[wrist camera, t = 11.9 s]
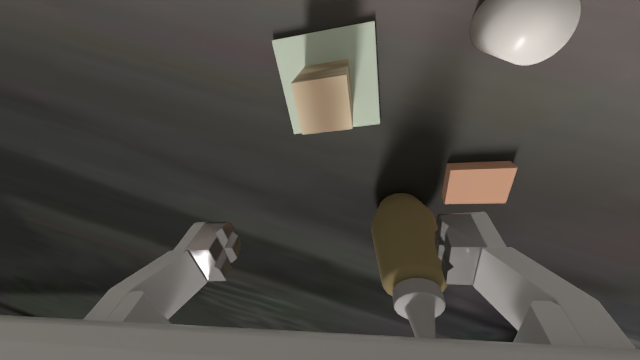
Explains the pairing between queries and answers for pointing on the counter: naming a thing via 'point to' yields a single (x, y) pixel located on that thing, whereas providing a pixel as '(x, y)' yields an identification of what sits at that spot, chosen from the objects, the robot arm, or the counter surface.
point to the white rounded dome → (524, 28)
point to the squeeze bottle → (409, 260)
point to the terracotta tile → (478, 182)
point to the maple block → (324, 97)
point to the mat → (328, 48)
